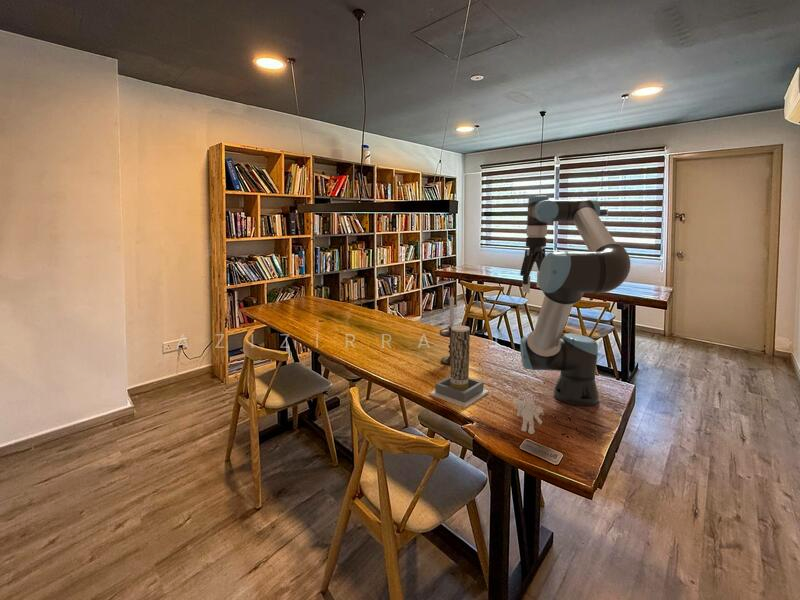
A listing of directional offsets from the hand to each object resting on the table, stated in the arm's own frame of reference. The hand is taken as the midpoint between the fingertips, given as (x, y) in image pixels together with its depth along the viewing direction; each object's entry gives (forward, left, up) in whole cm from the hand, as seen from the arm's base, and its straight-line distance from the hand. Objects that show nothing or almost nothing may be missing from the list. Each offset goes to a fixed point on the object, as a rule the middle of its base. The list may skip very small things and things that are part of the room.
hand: (533, 290), depth 159 cm
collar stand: (+12, +34, -37) cm, 51 cm away
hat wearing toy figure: (-19, +42, -37) cm, 59 cm away
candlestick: (+34, +8, -37) cm, 51 cm away
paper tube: (+12, +34, -36) cm, 51 cm away
